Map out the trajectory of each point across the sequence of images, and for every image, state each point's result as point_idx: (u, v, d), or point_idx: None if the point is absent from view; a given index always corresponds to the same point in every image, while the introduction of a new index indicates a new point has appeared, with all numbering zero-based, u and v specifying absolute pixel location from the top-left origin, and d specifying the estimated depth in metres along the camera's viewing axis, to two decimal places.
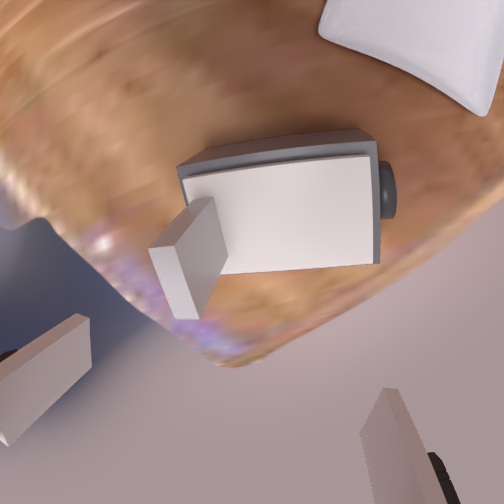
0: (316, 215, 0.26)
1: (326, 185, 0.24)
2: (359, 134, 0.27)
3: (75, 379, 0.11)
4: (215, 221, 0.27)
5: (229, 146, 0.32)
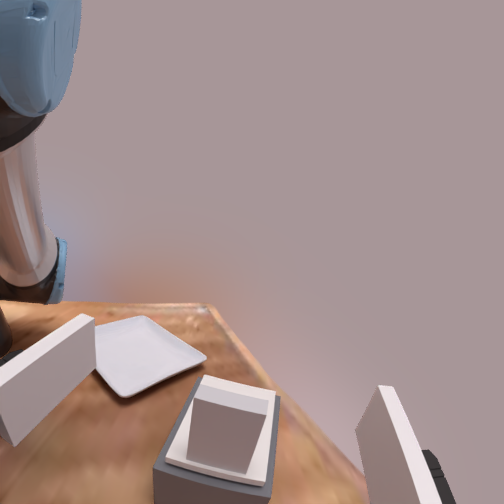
0: None
1: None
2: None
3: (80, 379, 0.11)
4: None
5: None
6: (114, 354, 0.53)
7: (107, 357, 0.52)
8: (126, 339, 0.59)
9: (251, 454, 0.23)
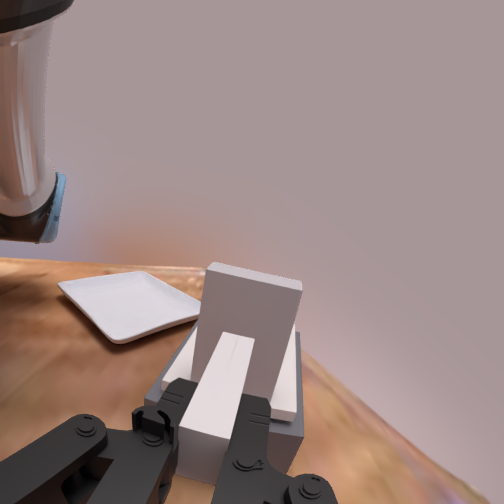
0: None
1: None
2: None
3: None
4: None
5: None
6: (109, 305, 0.49)
7: (100, 307, 0.48)
8: (123, 293, 0.56)
9: (279, 365, 0.20)
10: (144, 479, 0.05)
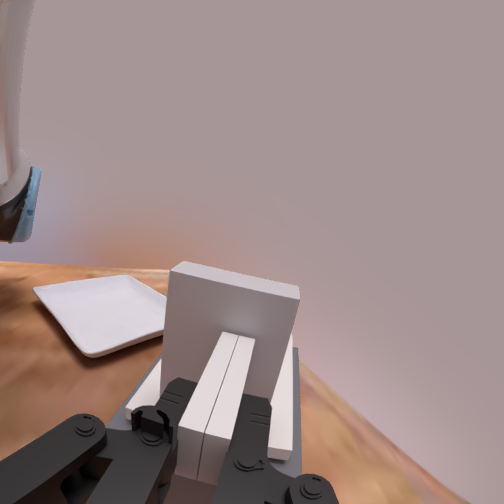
0: None
1: None
2: None
3: None
4: None
5: None
6: (87, 312, 0.43)
7: (78, 314, 0.42)
8: (104, 299, 0.49)
9: (269, 395, 0.15)
10: (143, 479, 0.05)
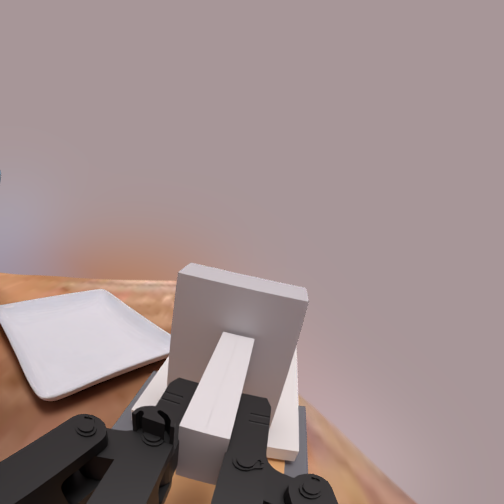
0: None
1: None
2: None
3: None
4: None
5: None
6: (53, 337, 0.34)
7: (42, 340, 0.32)
8: (75, 319, 0.40)
9: (277, 396, 0.15)
10: (144, 479, 0.05)
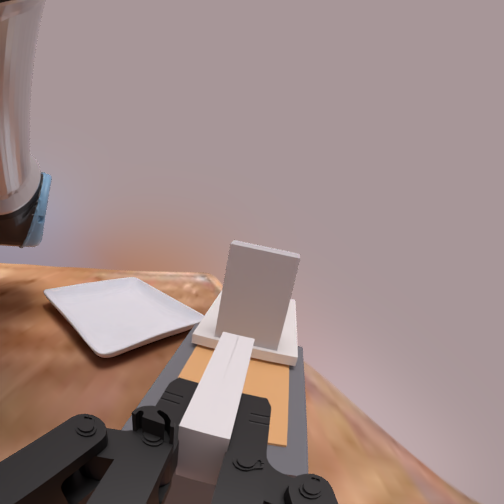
0: None
1: None
2: None
3: None
4: None
5: None
6: (97, 314, 0.45)
7: (88, 316, 0.44)
8: (113, 300, 0.51)
9: (284, 317, 0.27)
10: (144, 479, 0.05)
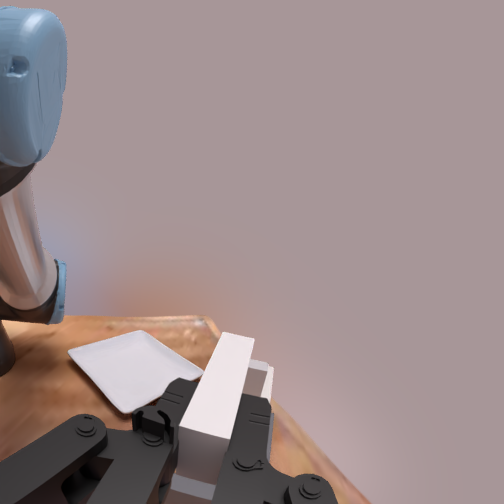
0: None
1: None
2: None
3: None
4: None
5: None
6: (114, 370, 0.54)
7: (107, 373, 0.52)
8: (126, 354, 0.60)
9: None
10: (144, 479, 0.05)
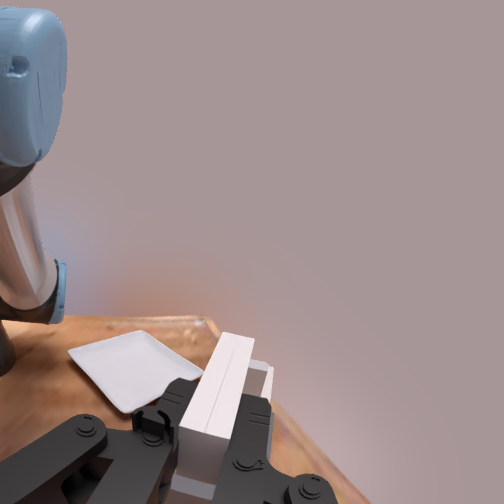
0: None
1: None
2: None
3: None
4: None
5: None
6: (114, 370, 0.54)
7: (107, 373, 0.52)
8: (126, 354, 0.60)
9: None
10: (144, 479, 0.05)
